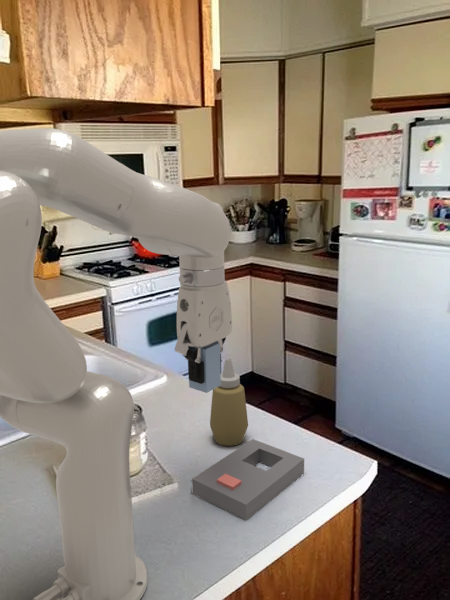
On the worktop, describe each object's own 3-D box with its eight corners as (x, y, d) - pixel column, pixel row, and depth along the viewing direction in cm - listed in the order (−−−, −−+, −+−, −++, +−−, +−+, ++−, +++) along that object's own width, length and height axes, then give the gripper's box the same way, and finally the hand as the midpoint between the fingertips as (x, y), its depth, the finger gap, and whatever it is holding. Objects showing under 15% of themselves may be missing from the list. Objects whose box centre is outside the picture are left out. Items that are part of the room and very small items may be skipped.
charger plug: (206, 392, 96) (205, 346, 94) (189, 387, 98) (187, 342, 96) (220, 385, 99) (219, 340, 97) (203, 379, 101) (202, 336, 99)
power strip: (246, 520, 91) (246, 501, 90) (192, 493, 98) (191, 475, 97) (303, 472, 104) (304, 455, 103) (252, 452, 112) (252, 436, 111)
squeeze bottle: (215, 452, 112) (213, 369, 108) (206, 433, 120) (204, 355, 115) (253, 446, 114) (253, 364, 110) (241, 428, 122) (241, 351, 117)
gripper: (186, 289, 85) (190, 399, 90) (249, 270, 97) (249, 367, 102) (151, 283, 89) (156, 388, 94) (215, 265, 102) (217, 358, 107)
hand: (205, 376), depth 98 cm, fingers closed on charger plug, 4 cm apart
